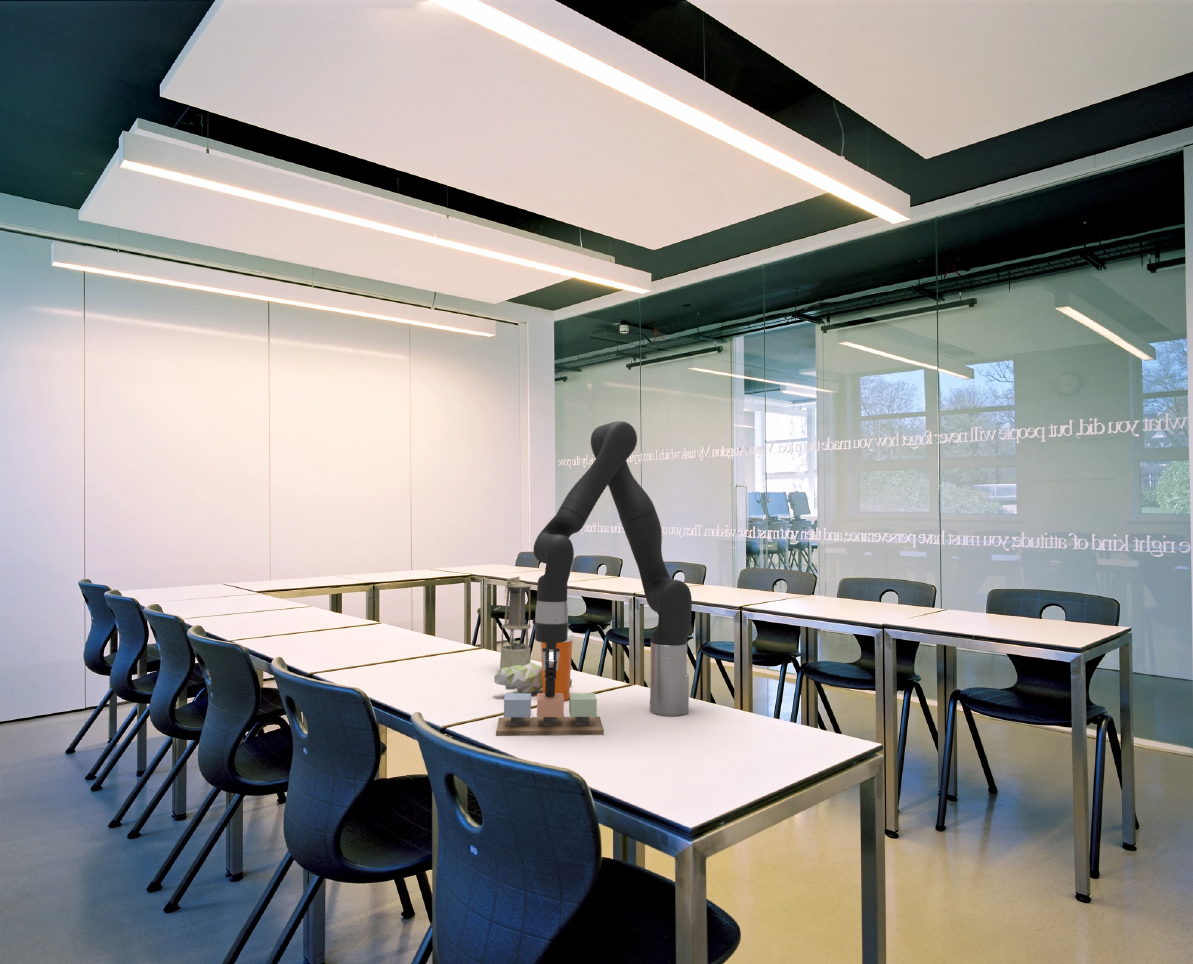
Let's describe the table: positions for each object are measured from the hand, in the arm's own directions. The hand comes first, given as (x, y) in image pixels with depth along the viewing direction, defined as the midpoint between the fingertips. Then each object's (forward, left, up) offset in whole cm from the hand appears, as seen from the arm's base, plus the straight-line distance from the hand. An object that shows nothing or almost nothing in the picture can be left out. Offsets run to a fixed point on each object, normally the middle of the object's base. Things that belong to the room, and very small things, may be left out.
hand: (549, 695), depth 169 cm
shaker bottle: (-2, -28, -8) cm, 29 cm away
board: (0, 0, -7) cm, 7 cm away
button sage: (-8, 0, -4) cm, 9 cm away
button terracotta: (0, 0, -4) cm, 4 cm away
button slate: (+7, 0, -4) cm, 8 cm away
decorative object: (+4, -35, -8) cm, 36 cm away
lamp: (+11, -59, -8) cm, 60 cm away
